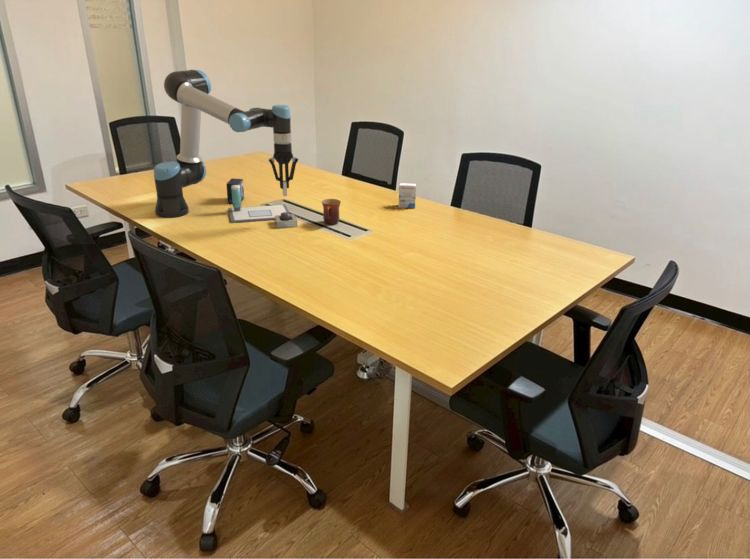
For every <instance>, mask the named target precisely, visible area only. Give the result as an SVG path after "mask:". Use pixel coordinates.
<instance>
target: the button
mask: <svg viewBox="0 0 750 559" xmlns="http://www.w3.org/2000/svg"><path fill="white" fill-rule="evenodd" d="M290 214H291V212H290V213H288V212H283V213H281V220H291V215H290Z"/></svg>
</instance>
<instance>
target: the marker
mask: <svg viewBox="0 0 750 559" xmlns="http://www.w3.org/2000/svg"><path fill="white" fill-rule="evenodd" d="M231 190H232V202H233V204H232V208H234V211H241V208H240V207H242V201H241V194H240V185H232V186H231Z"/></svg>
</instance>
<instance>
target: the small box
mask: <svg viewBox="0 0 750 559" xmlns="http://www.w3.org/2000/svg"><path fill="white" fill-rule="evenodd" d="M225 185H226V193H227V194H226V196H227V199H226V200H227V204H231V205H233V202H232V190H231V186H232V185H240V194H241V202H242V201H243V200H244V199H245V191H244V190H245V189H244V179H243V178H231V179H229V181H227V183H226V184H225Z"/></svg>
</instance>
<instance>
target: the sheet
mask: <svg viewBox="0 0 750 559" xmlns="http://www.w3.org/2000/svg"><path fill="white" fill-rule="evenodd" d="M240 208H241V211H234V207H230V208H229V207H228V210H227V211H228V215H229V218H230V222H231V224H234V223H235V224H238V223H251V222H265V221H275V216H276V215H281V213H283V212H288V213H290V214H291V212H290V211H289V209H288V207H287V205H286V204H273V205H259V206H258V205H257V206H241V207H240Z"/></svg>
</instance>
